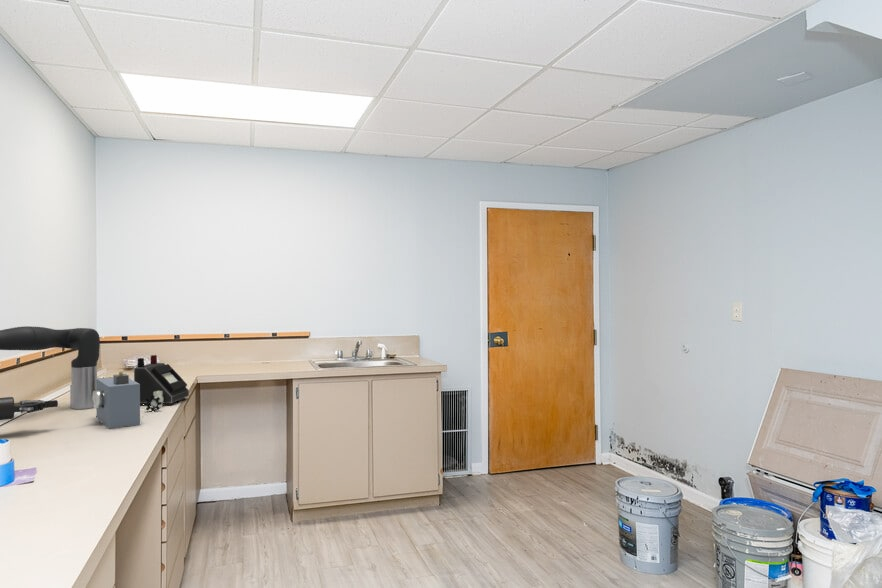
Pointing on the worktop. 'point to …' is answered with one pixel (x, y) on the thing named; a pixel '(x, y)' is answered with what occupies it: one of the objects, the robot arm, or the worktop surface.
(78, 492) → the worktop surface
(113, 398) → the housing
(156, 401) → the valve
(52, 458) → the worktop surface
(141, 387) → the voltmeter
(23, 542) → the worktop surface
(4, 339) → the robot arm
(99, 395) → the knob
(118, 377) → the potentiometer
